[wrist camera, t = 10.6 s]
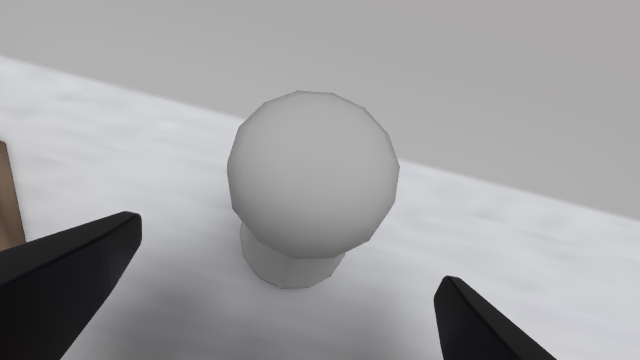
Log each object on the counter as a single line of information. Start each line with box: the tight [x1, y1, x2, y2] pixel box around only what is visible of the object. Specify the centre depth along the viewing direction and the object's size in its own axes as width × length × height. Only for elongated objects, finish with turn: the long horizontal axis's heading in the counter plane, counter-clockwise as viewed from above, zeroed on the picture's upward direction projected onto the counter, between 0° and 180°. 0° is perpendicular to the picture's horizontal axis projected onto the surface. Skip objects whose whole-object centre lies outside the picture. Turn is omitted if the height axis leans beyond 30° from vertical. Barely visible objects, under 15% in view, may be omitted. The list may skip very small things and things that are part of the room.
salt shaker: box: [227, 91, 400, 289], centre depth 13 cm, size 6×6×13 cm
